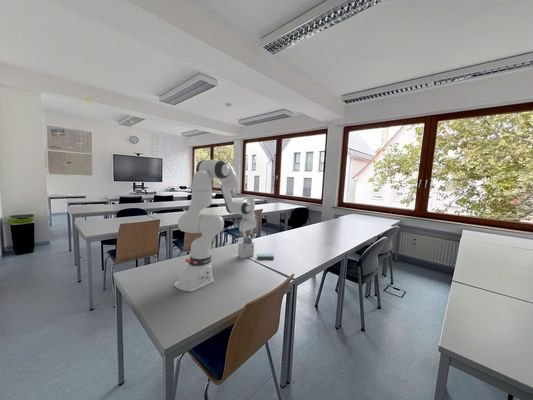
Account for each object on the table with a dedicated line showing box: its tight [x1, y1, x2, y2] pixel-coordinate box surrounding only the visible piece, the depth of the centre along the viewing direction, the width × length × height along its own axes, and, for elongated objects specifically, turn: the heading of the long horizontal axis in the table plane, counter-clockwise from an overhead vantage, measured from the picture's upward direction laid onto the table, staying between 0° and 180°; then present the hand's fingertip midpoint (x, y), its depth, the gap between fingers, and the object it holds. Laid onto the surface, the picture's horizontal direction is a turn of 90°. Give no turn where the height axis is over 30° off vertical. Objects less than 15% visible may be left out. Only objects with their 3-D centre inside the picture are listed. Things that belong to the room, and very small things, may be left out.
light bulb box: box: [237, 241, 255, 259], centre depth 172 cm, size 11×7×11 cm, turn 129°
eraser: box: [256, 253, 275, 261], centre depth 169 cm, size 12×5×3 cm, turn 98°
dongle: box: [240, 236, 253, 244], centre depth 170 cm, size 8×4×4 cm, turn 64°
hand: (247, 235), depth 170 cm, fingers open, 8 cm apart
